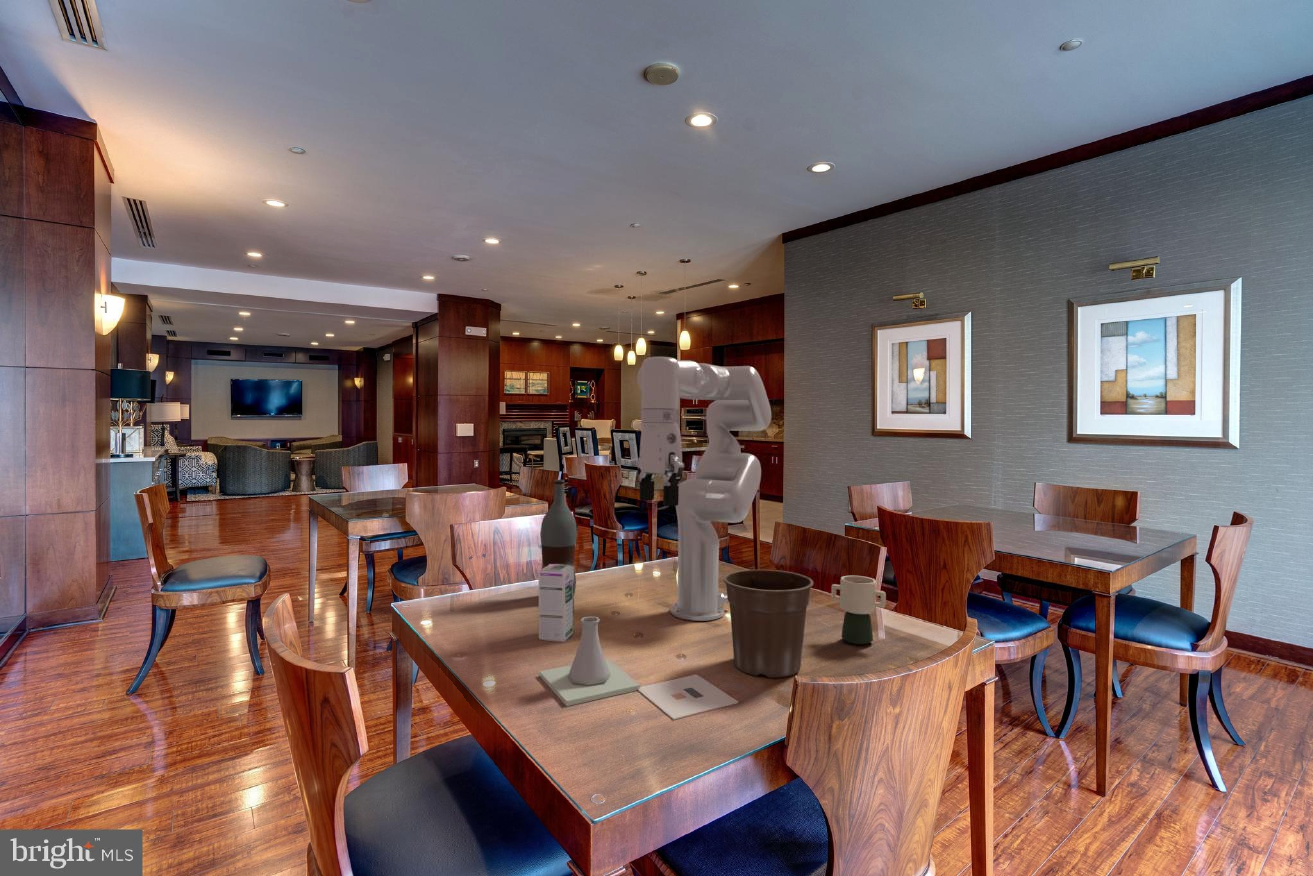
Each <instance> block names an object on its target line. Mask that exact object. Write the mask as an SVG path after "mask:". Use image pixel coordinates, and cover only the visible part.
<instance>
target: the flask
mask: <svg viewBox="0 0 1313 876" xmlns="http://www.w3.org/2000/svg"><path fill="white" fill-rule="evenodd" d="M580 623H581V634H580V641H579V644H578V647H577V649H576V653H575V656H574V658H573V661H572V663H571V665H572V666H571V669H570V672H569V674H568V677H569V679H570V680H571V682H572V683H577V684H585V685H592V684H598V683H604V682H606V681H607V679H608V678H609V677H610V672H609V669H608V666H607V663H606V661H605V659H606V658H605V655H604V652H603V649H602V646H601V643H600V637H599V632H598V631H599V630H598V629H599V627H598V626H599V623H600V618H599V617H598V616H583V617H582V618H581V619H580Z"/></svg>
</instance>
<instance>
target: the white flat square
mask: <svg viewBox="0 0 1313 876" xmlns="http://www.w3.org/2000/svg"><path fill="white" fill-rule="evenodd" d="M637 691H638V692H639V693H640V694H642V696H643V697H645V698H646V699H648V700H649V701H650V702H651V703H652V704H654V705H655V706H656V707H658V708H659V710H660V711H662V712H664V714H666V715H667V716H668V717H669V718H671V719H672V720H673V721H674V720H680V719H683V718H687V717H690V716H694V715H697V714H701V713H706V712H710V711H713V710H717V709H721V708H724V707H728V706H733V705H736V704H739V701H738V700H736V699H735V698H733V697H731V696H730V695H729V694H727V693H726V692H724V691H723V690H722V689H720V688H718V687H716V686H714V685H713V684H712V683H710V681H708V680H706V679H704V678H703V677H702V676H700V675H698V674H692V675H688V676H684V677H679V678H675V679H670V680H667V681H663V682H662V681H661V682H656V683H652V684H648V685H643V686H640V689H638V690H637Z"/></svg>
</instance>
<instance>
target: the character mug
mask: <svg viewBox="0 0 1313 876" xmlns="http://www.w3.org/2000/svg"><path fill="white" fill-rule="evenodd" d="M837 590H839V595H837ZM886 594H887V593H886V592H885V591H883V590H877V580H876V579H875V578H872V577H868V576H862V575H845V576H844V575H843V576H841V577H840V584H836V583H835V584H834V583H833V584H832V585H831V595H830V596H831V597H830V598H831V600H834V601H838V602H839V606H840V608H841V610H843V611H845V613H844V617H843V622H842V623H843V624H842V629H841V638H842V639H843V640H844V641H845V642H848V643H850V644H855V645H861V644H862V645H864V644H869V643H871V642H873V641H874V638H873V636H874V635H873V626H872V617H871V615H870V614H873V613H874V612H875V611H876V609H877V608H883V609H884V608H885V607H886V604H887V603H886V602H887V595H886ZM877 596H878V597H879V596H880V602H879V601H877Z"/></svg>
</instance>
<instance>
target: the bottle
mask: <svg viewBox="0 0 1313 876" xmlns="http://www.w3.org/2000/svg"><path fill="white" fill-rule="evenodd" d="M553 490H554V492H553V493H554V494H553V502H552V504H551V505H550V507H549V508H548V510H547V512H546V514H545V515H544V516H543V518H542V520H541V521H542V522H541V526H540V533H539V534H540V547H541V563H542V564H541V569H543V568H545V567H547V566H548V565H549V564H566V565H573V566H574V595H575V594H576V586H577V579H576V578H577V577H576V576H577V575H576V569H575V568H576V567H575V557H576V556H575V555H576V543H577V536H578V531H577V529H578V528H577V522H576V518H575V516H574V514H573V513H572V512H571V510H570V508H569V506H568V505H567V503H566V502H565V480H564V479H554V489H553Z"/></svg>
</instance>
